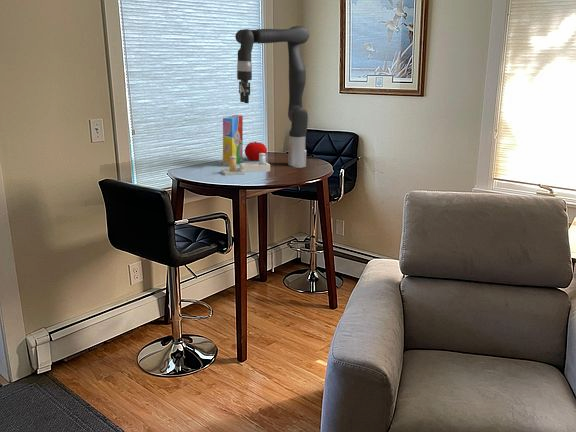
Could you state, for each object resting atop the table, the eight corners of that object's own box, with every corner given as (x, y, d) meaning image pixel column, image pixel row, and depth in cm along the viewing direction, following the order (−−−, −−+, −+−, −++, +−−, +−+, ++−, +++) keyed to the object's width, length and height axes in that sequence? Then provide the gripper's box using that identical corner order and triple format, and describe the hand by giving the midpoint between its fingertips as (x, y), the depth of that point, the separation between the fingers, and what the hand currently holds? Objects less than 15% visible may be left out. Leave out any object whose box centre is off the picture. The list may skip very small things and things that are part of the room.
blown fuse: (234, 173, 282) (235, 155, 280) (236, 174, 279) (237, 157, 277) (228, 173, 281) (229, 155, 279) (230, 174, 278) (230, 157, 276)
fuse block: (266, 170, 294) (266, 162, 292) (270, 173, 287) (270, 164, 286) (239, 171, 289) (239, 163, 288) (242, 174, 283) (242, 165, 281)
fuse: (264, 169, 291) (264, 152, 289) (265, 170, 288) (266, 154, 286) (258, 169, 290) (258, 153, 288) (259, 171, 287) (260, 154, 284)
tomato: (242, 158, 327) (242, 140, 323) (262, 157, 332) (262, 139, 329) (249, 162, 316) (249, 143, 313) (269, 161, 322) (270, 142, 319)
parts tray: (239, 172, 286) (239, 168, 286) (244, 176, 277) (244, 171, 277) (221, 173, 283) (221, 168, 283) (225, 177, 274) (225, 172, 274)
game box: (232, 168, 297) (232, 118, 289) (222, 168, 298) (222, 118, 290) (242, 162, 316) (242, 115, 309) (233, 161, 317) (233, 114, 310)
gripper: (255, 70, 271) (255, 103, 276) (248, 70, 284) (247, 101, 289) (240, 70, 269) (240, 103, 274) (234, 69, 282) (234, 101, 286)
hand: (244, 102), depth 281 cm, fingers open, 8 cm apart
